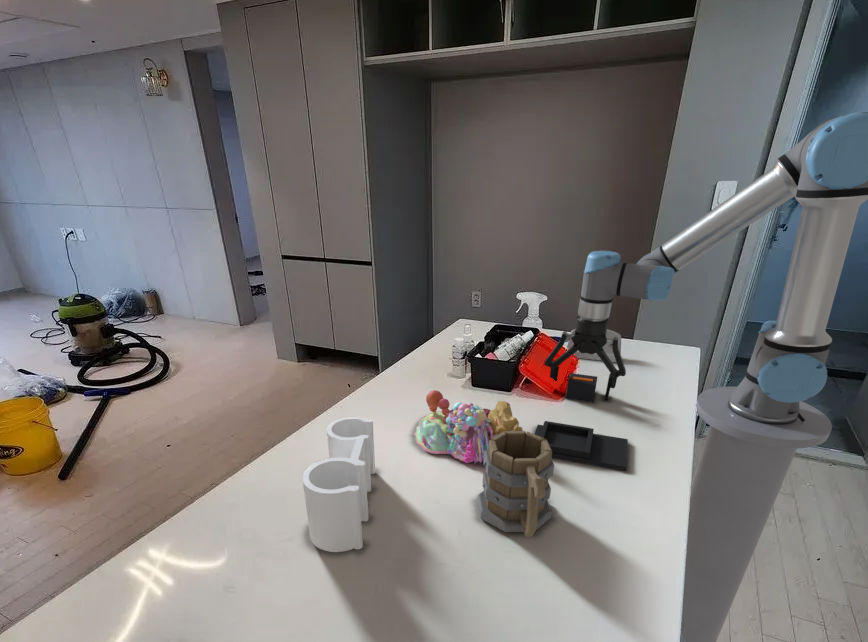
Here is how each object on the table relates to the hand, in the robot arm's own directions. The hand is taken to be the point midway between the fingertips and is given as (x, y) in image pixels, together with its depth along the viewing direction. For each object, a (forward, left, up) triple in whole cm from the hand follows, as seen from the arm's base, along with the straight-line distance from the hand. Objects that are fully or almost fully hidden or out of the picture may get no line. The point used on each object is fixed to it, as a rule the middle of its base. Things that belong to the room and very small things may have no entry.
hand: (579, 394), depth 136 cm
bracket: (+37, +64, 0) cm, 74 cm away
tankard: (+6, +58, 0) cm, 58 cm away
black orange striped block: (0, 0, 0) cm, 0 cm away
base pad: (-2, +28, 0) cm, 28 cm away
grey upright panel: (-1, -31, 0) cm, 31 cm away
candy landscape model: (+22, +32, 0) cm, 39 cm away
